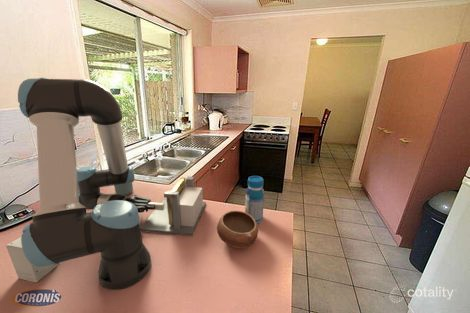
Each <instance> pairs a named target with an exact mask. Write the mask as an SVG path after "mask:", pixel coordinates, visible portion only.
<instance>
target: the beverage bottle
mask: <svg viewBox="0 0 470 313" xmlns="http://www.w3.org/2000/svg"><path fill="white" fill-rule="evenodd" d="M264 183H265V182H264V178H263V177H262V176H259V175H251V176H248V179H247V186H248V187H246V190H245V197H244V200H245V202H244V204H245V206H244V212H245V213H248V214H249V215H251V216H252V217H253V218H254V219H255V221H256V223H257V224H259V223H261V222H263V221H262V220H263V218H264V217H263V216H264V215H263V214H264V203H265V190H264Z"/></svg>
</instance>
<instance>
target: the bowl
mask: <svg viewBox="0 0 470 313" xmlns="http://www.w3.org/2000/svg"><path fill="white" fill-rule="evenodd" d="M216 232H217V235H218V237H219V239H220V240H221V241H223V242H224V243H225V244H226V245H228V246H229V247H233V248H235V249H244V248H248V247H250V246H252V244H254V243H255V242H256V241H257V239H258V234H259V228H258V223H256V221H255V219H254V218H253V217H252V216H251V215H249V214H248V213H245V211H241V210H231V211H226V212H225V213H223V214H222V216H221V217H220V218H219V220H218V222H217V225H216Z"/></svg>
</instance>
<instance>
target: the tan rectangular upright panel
mask: <svg viewBox="0 0 470 313" xmlns="http://www.w3.org/2000/svg"><path fill="white" fill-rule="evenodd" d="M186 178H187V177H181V178H179V181H178V182H177V183H176V184H175V186H174V187H173V189H172V190H171V191H176V192H179V196H180V194H181V193H182V192H183V190H184V189H185V187H186ZM166 199H167V207H168V218H169V225H173V213H172V201H171V198H166Z"/></svg>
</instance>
